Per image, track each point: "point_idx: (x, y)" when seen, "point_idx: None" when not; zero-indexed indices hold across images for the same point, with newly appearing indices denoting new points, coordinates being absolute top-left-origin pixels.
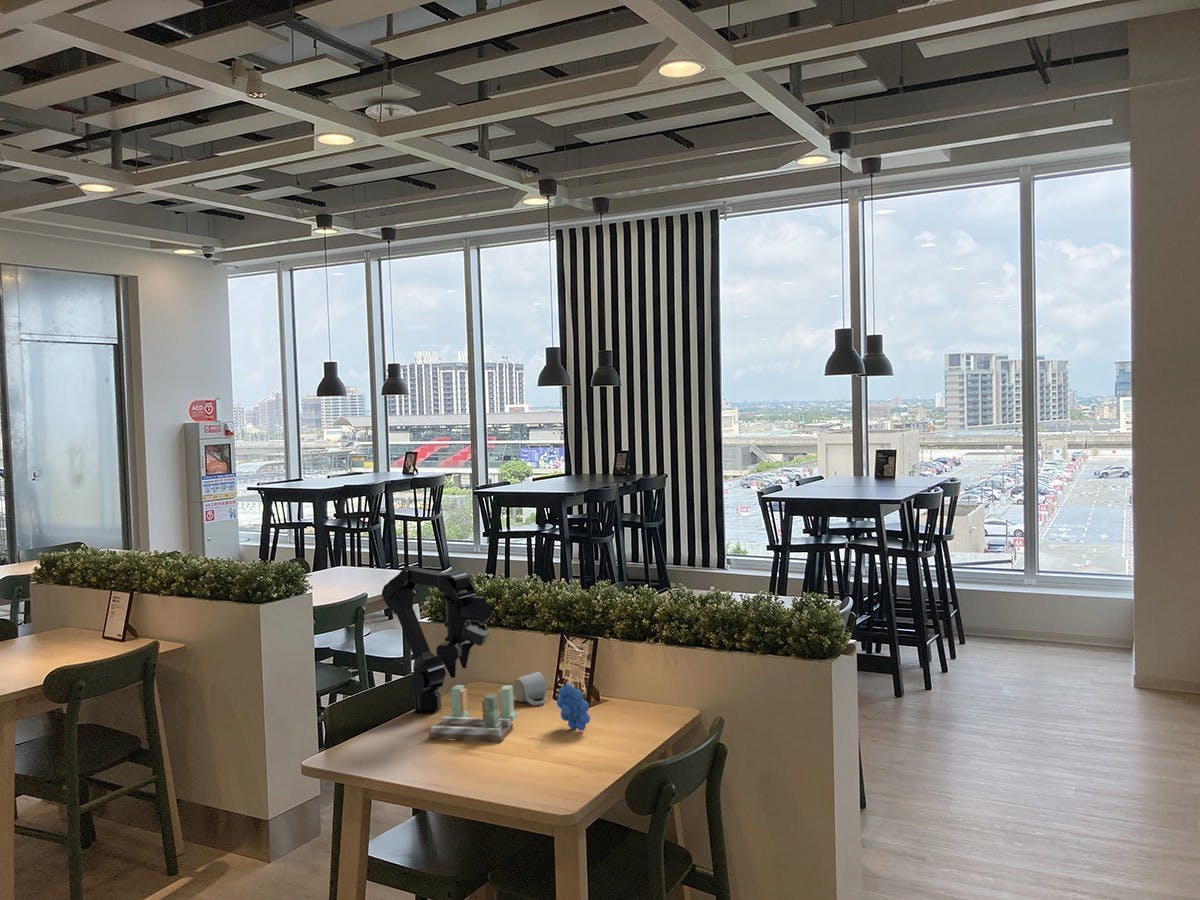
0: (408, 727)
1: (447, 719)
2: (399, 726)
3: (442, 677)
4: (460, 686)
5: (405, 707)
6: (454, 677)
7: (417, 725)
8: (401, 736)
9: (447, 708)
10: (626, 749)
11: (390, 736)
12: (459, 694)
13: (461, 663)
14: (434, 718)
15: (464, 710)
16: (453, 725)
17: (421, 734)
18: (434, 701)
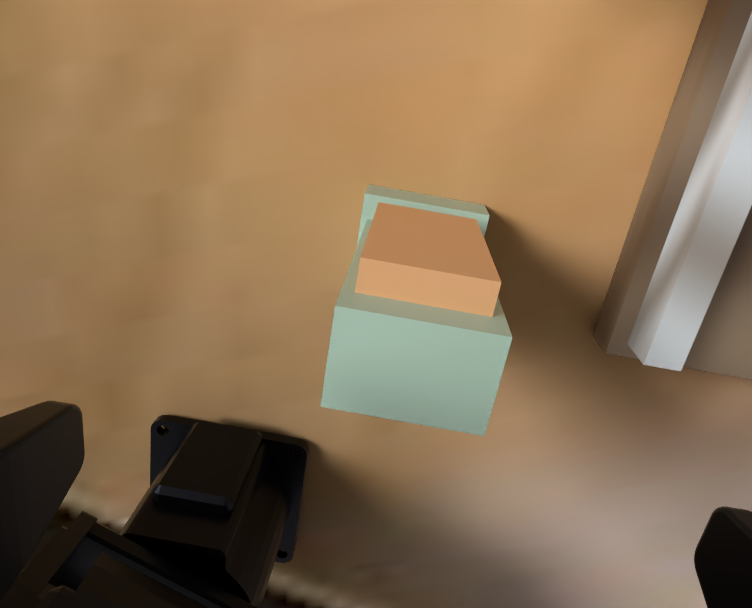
0: (562, 534)
1: (695, 321)
2: (532, 580)
3: (121, 592)
4: (392, 344)
5: None
6: (742, 516)
7: (531, 494)
8: None
9: (180, 373)
10: None
11: None
12: (500, 311)
13: (29, 549)
14: None
15: (457, 216)
16: (742, 251)
17: (729, 443)
18: (251, 488)
